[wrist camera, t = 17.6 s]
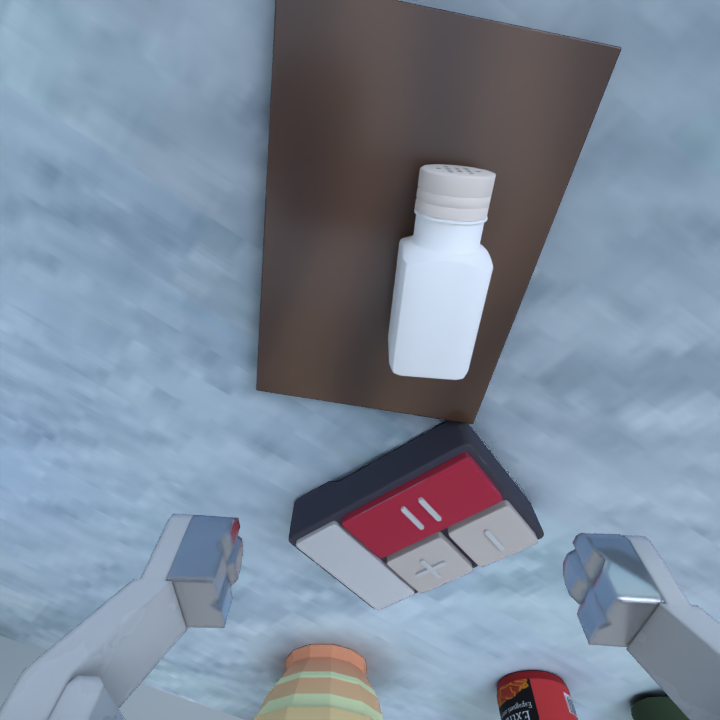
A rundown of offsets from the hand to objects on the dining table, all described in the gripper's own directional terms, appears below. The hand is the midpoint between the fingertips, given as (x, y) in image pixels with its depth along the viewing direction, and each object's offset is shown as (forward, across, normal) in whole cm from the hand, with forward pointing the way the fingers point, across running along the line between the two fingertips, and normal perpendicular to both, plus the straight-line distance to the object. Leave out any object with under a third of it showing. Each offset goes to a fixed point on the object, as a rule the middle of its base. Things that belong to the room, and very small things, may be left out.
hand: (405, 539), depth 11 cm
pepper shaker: (+13, -2, +3) cm, 14 cm away
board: (+16, -1, -2) cm, 16 cm away
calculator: (+16, -3, +18) cm, 24 cm away
